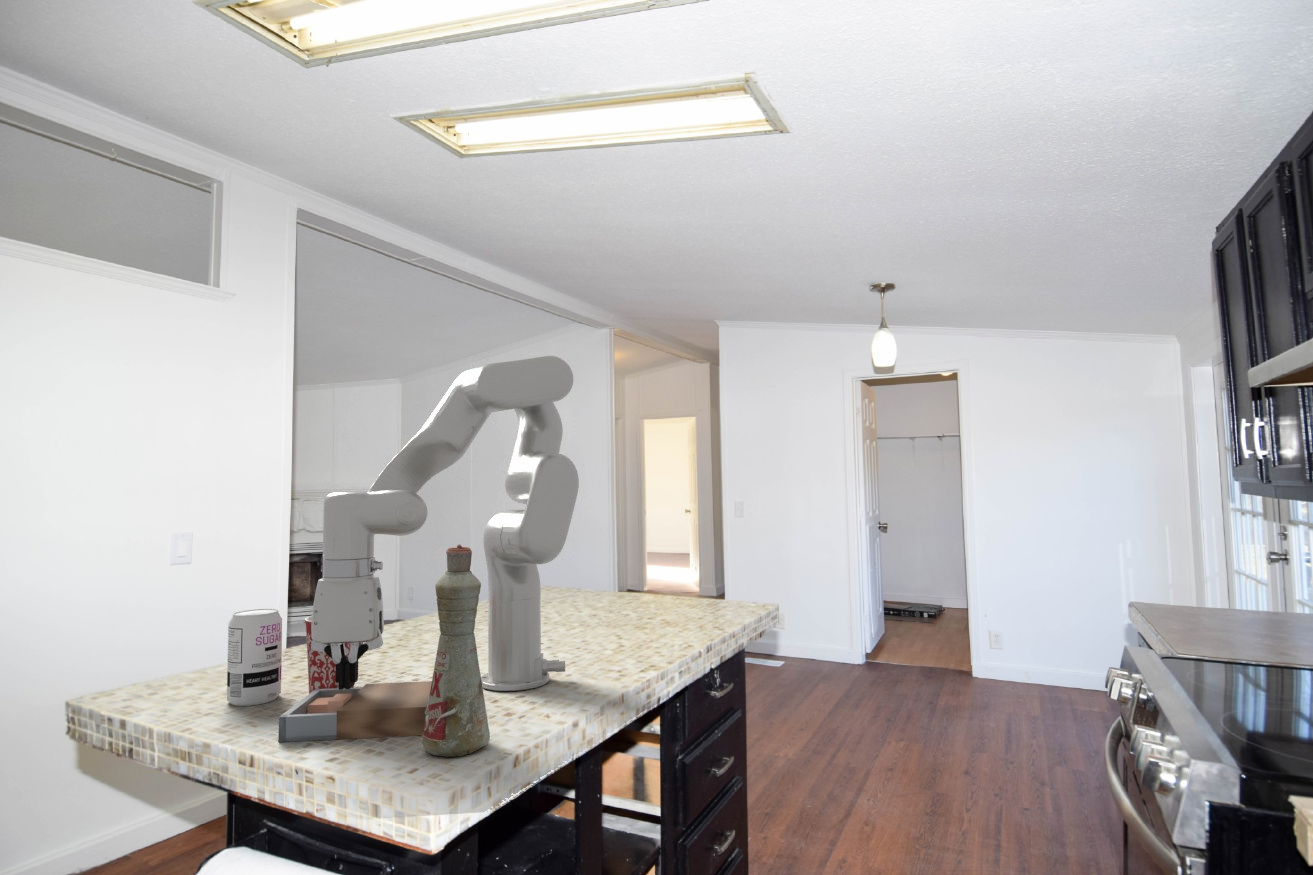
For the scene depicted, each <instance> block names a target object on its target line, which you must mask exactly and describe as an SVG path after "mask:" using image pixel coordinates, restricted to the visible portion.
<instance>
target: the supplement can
mask: <svg viewBox="0 0 1313 875" xmlns="http://www.w3.org/2000/svg"><path fill="white" fill-rule="evenodd" d="M227 625H228V626H227V628H228V629H227V667H226V668H227V670H226V672H227V674H226V676H227V677H226V680H227V682H226V683H227V684H226V700H227V702H229V703H230V704H231V705H232V706H238V707H247V706H250V707H251V706H256V705H257V706H258V705H262V704H266V703H271V702H272V701H275V700H277V698H278V696H280V695H281V693H282V656H283V654H282V653H283V651H282V650H283V618H282V616H281V615H280V613H279V610H278V609H276V608H257V609H256V608H255V609H247V610H240V611H235V612H234V613H232V615H231V618H230V620H229V621H228V624H227Z"/></svg>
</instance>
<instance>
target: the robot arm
mask: <svg viewBox="0 0 1313 875" xmlns="http://www.w3.org/2000/svg"><path fill="white" fill-rule="evenodd" d="M573 385H574V373H573V370H572V368H571V366H570V365H569V364H568V363H567V361H565V360H564V359H562V358H561V357H558V356H554V355H544V356H539V357H530V358H525V359H519V360H510V361H501V362H491V363H487V364H484V365H479V366H476V367H473V368H469V369H467V370H465V371H463V372H461V373H460V374H459V375H458V376H457V377H456V378H455V380H454V381H453V383H452V384H451V385H450V387H449V388H448V390H447V391H446V393H445V395H444V396H442V398H441V400H440V401H439V403H438V404H437V406H436V407H435V409H434V410H433V412H432V413H431V414H430V416H429V417H428V418H427V420H426V422H425V423H424V424H423V426H422V427H421V428H420V430H419V431H418V432H417V433H416V434H415V435H414V436H413V437H412V438H411V439H410V440H409V441H408V442H407V443H406V444H405V445H404V446H403V448H402V449H401V450H400V451H399V452H398V453H397V454H396V455H395V456H394V457H393V458H392V459H391V460H390V461H389V462H388V463H387V464H386V466H384V468H383V469H382V470H381V472H380V473H379V474H378V475H377V476H376V477H377V478H376V479H375V481H373V483H372V484H371V486H370V488H369V489H368V490H367V492H366V491H337V492H336V491H335V492H331V493H329V494H327V495H326V496H325V498H324V501H323V515H322V516H323V520H322V521H323V522H322V524H323V527H322V530H323V531H322V537H323V538H322V577H321V578H319V579H318V580H317V585H316V589H315V593H314V598H313V599H314V600H313V605H312V606H313V607H312V614H311V616H312V624H311V636H312V644H311V649H312V650H315V651H320V652H325V653H326V654H327V655H328V656H329V657H330V658H331V659H333V662H334V663H335V664H336V683H339V686H338V688H339V690H340V689H344V688H346V689H350V688H351V687H353V686H354V687H355V684H356V683H357V682H358V680H359V660H360V658H362V657H363V655H365V653H367V652H368V651H372V650H376V649H379V648H381V647H383V645H384V640H383V637H382V635H383V634H384V631H385V630H384V629H385V616H384V601H383V593H382V591H383V590H382V586H381V579H380V577H379V576H378V575H377V576H376V575H375V576H374V574H375V572H378V571H382V570H383V568H384V563H383V561H378V560H377V559H376V557H375V556H374V555H375V554H374V552H375V551H374V550H375V549H374V548H375V547H374V545H375V544H374V543H375V535H387V536H388V535H389V536H396V537H397V536H399V537H400V536H410V535H412V534H414V533H415V532H418V531H419V530H420V529H421V528H422V527H423V526H424V524H425V522H426V521H427V518H428V514H429V512H428V507H427V503H426V502H425V500H424V498H422V497H421V496H420V495H419V494H418V493H419V491H421V489H422V488H423V487H424V485H425V484H427V483H428V481H430V480H431V479H432V478H433V477H435V476H436V475H438V474H440V473H441V472H443V471H444V470H447V469H448V468H449V467H451V466H453V465H454V464H456V463H457V462H459V460H461V459H462V458H463V457H464V455H465V454H466V453H467V451H468V450H469V448H470V446H471V445H472V443H473V441H474V440H475V438H476V436H477V435H478V433H479V432H480V431H481V429H482V427H483V426H484V424H486V421H487V420H488V418H489V417H490V415H491V414H492V413H496V412H502V411H503V412H504V411H509V410H514V412H515V414H516V417H517V420H518V421H517V422H518V430H517V435H516V439H515V442H514V443H515V444H514V447H513V450H512V454H511V458H510V462H509V465H508V469H507V472H506V476H505V481H504V482H505V483H504V487H505V491H506V495H507V496H508V497H509V499H511V501H513V502H516V503H518V504H524V505H525V509H505V510H503V511H500V512H498V513H496V514H495V515H492V517H491V518H490V519H489V521H488V522H487V523H486V526H485V528H484V532H483V539H482V540H483V541H482V542H483V550H484V555H485V561H486V570H487V582H488V585H487V588H488V590H487V592H488V594H487V595H488V596H487V597H488V598H487V599H488V600H487V601H488V602H487V604H488V605H487V606H488V607H487V608H488V609H487V610H488V612H487V614H488V616H487V618H488V620H487V621H488V623H487V626H488V628H487V629H488V632H487V633H488V634H487V635H488V637H487V638H488V641H487V642H488V646H487V648H488V649H487V650H488V651H487V652H488V658H487V659H488V662H487V663H488V670H487V671H488V672H487V673H484V674H483V675H481V680H482V687H483V689H486V690H489V691H499V692H514V691H516V692H517V691H524V690H531V689H535V688H539V687H542V686H544V685H546V684H548V682H550V673H551V672H553V673H554V672H555V673H565V672H566V660H560V659H552V660H548V659H547V658H544V653H543V652H542V649H541V648H542V644H541V643H542V642H541V641H542V640H541V639H542V638H541V637H542V636H541V635H542V634H541V631H542V630H541V618H542V617H541V616H542V614H541V613H542V612H541V595H542V594H541V592H542V591H541V588H542V587H541V579H540V578H541V577H540V573H539V569H538V565H544V564H545V565H546V564H548V563H551V562H552V561H554V560H555V559H556V558H557V557H558V556H559V555H560V553H561V552H562V550H563V549H564V547H565V544H566V541H567V536H568V534H569V529H570V525H571V522H572V519H573V514H574V510H575V506H576V502H577V499H578V498H577V497H578V493H579V486H580V484H579V483H580V481H579V480H580V478H579V474H578V469H577V467H576V465H575V464H574V462H573V461H572V460H571V459H570V458H569V457H568V456H566V455H564V454H562V453H560V450H561V445H562V440H563V435H564V434H563V431H564V430H563V429H564V428H563V422H562V418H561V416H560V413H559V411H558V409H557V407H556V404H555V402H558V401H561V400H563V399H564V398H566V397H567V396H568V395H569V394H570V392H571V391H572V389H573ZM344 643H351V647H350V653H349V658H348V659H347V656H346V652H345V645H344Z"/></svg>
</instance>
